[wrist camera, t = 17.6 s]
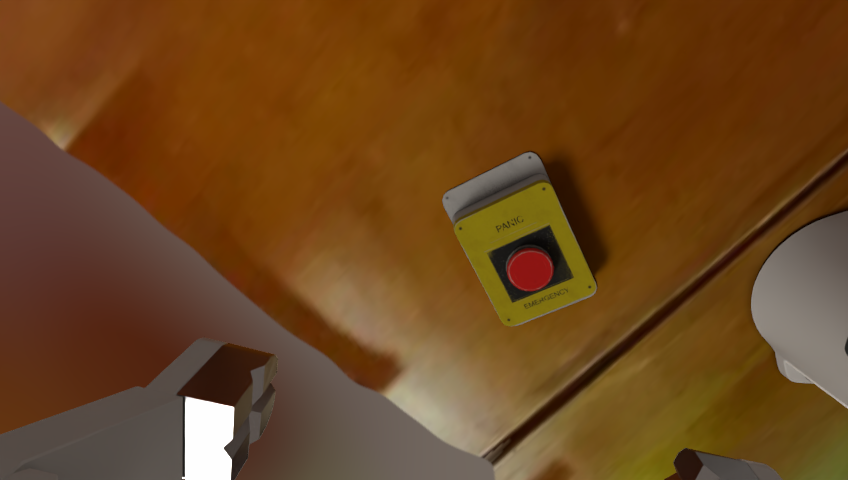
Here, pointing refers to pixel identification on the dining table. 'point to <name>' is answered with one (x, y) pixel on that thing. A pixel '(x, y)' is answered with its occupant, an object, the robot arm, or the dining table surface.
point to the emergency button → (519, 240)
